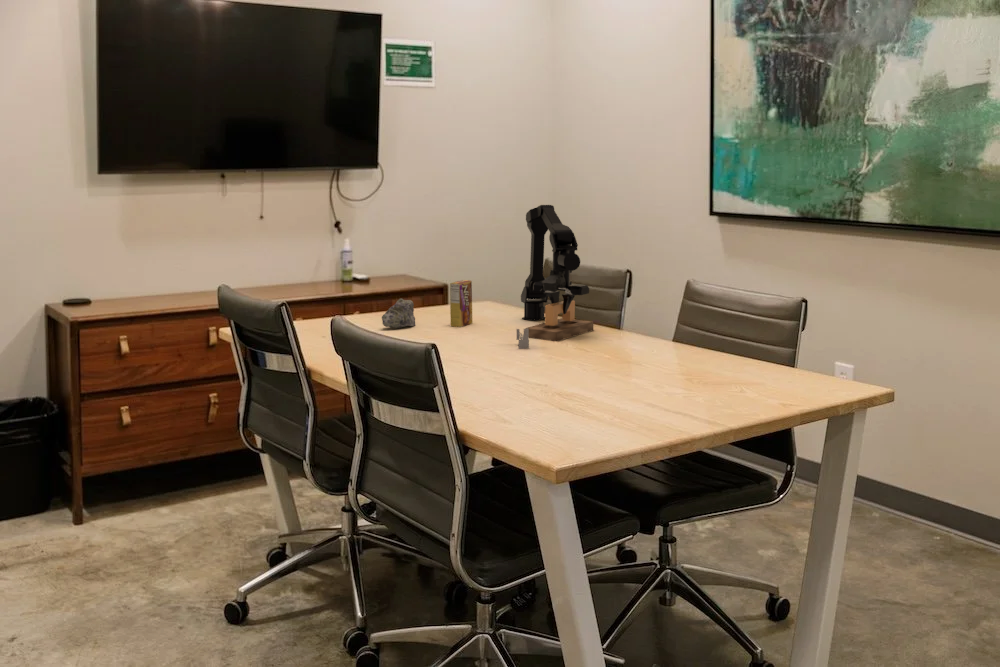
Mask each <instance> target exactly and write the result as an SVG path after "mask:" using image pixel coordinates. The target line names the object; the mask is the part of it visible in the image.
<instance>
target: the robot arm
mask: <svg viewBox="0 0 1000 667" xmlns="http://www.w3.org/2000/svg"><path fill="white" fill-rule="evenodd" d="M525 221H526V227H527V228H528V230H529V232H530V234H531V236H530V239H531V240H530V262H529V266H530V267H529V274H528V276H527V278H526V280H524V287H523V289H522V292H521V294H520V301H521V303H523V304H524V307H523V309H524V312H523V313H524V314H523V315H524V316H523V317H521V320H527V321H533V322H537V321H541V320H545V306H544V305H545V304H544V303H548V300H550V304H553V303H557V302H560V292H561V291H563V292H564V293H563V294H561V296H562V299H563V314H566V312H567V310H568V308H569V306H570V304H571V302H572V301H574V298H575V296H583V295H587V294H590V288H589V285H587V284H580V283H578V284H573V285H572V283H573V282H572V281H570V278H571V277H570V276H571V275H570V274H572V272H573V271H576V270H578V268H579V267H580V265H581V258H580V256H579V255H578V254H577V253H576V251H578V246H579V244H578V242H577V238H576V235H575V233H574V232H573V229H571V228H570V226H568V225H565V224H563V222H562V221H561V219H560V217H559V216H558V214H557V212H556V211H555V206H554V205H552V204H540V205H538V206H537V207H533V208H531V209H529V210H528V211H527V212H526V214H525ZM548 231H549V243H550V245H551V248H552V249H551V252H552V269H550V271H549V276H546V278H545V276H544V260H545V259H544V258H545V236H546V234H547V232H548Z"/></svg>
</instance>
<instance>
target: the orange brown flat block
mask: <svg viewBox="0 0 1000 667" xmlns="http://www.w3.org/2000/svg"><path fill="white" fill-rule="evenodd" d="M544 305H545V304H544ZM575 308H576V301H575V300H572V302H571V304H570V306H569V308H568V310H567V312H566V314H563V301H562V300H561V301H559V302H557V303H553V304H552V303H549V304H546V305H545V306H544V317H545V319H544V323H545V325H551V326H554V325H557V324H558V319H559V318H558V316H559V314H562V316H561V317H562V320H565V321H572V320H574V319H575V315H576V314H575V313H576V311H575V310H576V309H575Z"/></svg>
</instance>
